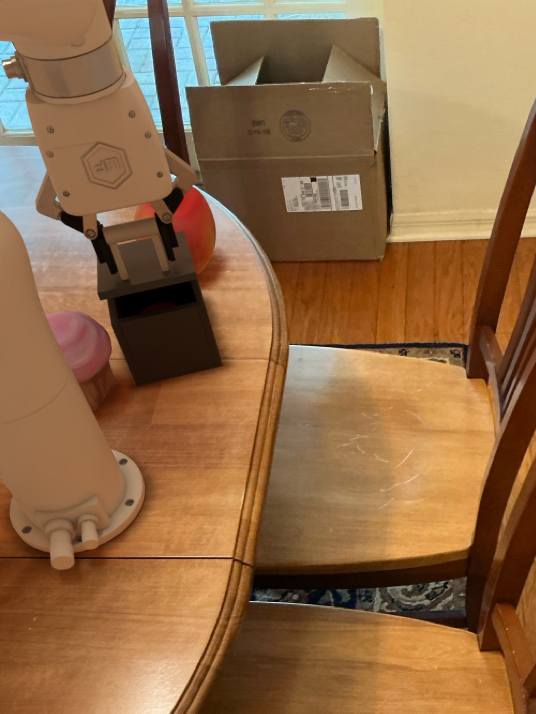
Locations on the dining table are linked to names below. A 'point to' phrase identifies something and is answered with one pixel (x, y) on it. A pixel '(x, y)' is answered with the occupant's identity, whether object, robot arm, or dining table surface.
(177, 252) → the bin lid
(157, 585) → the dining table surface
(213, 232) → the apple
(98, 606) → the dining table surface
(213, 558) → the dining table surface
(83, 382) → the cupcake
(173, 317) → the open square bin
